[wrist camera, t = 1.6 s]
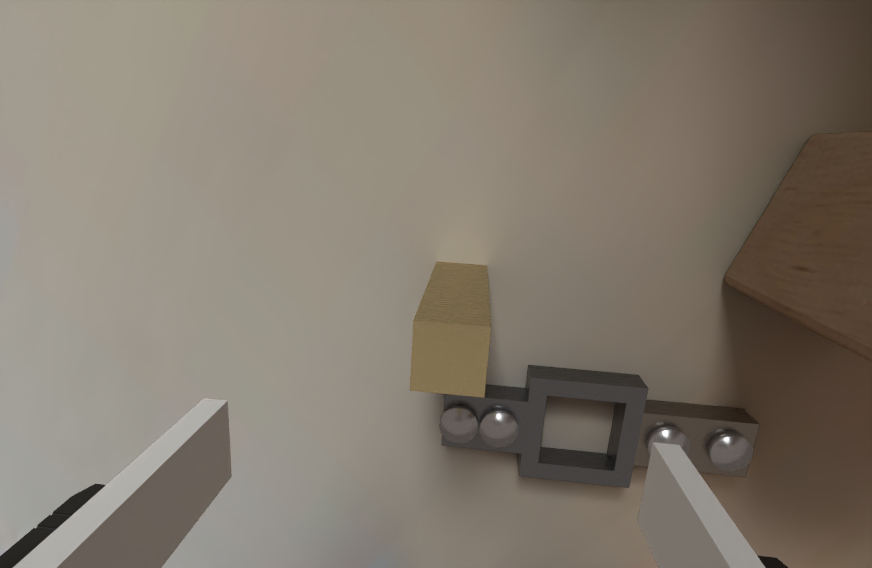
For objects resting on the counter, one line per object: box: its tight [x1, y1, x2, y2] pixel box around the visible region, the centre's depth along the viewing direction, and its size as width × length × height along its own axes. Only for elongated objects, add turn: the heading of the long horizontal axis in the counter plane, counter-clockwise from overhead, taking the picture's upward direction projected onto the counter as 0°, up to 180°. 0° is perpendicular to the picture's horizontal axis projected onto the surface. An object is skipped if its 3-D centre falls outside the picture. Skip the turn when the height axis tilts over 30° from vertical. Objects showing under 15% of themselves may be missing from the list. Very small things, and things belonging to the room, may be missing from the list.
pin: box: [410, 262, 491, 398], centre depth 28 cm, size 3×3×12 cm
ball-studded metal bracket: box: [440, 365, 760, 488], centre depth 34 cm, size 8×21×3 cm, turn 87°
